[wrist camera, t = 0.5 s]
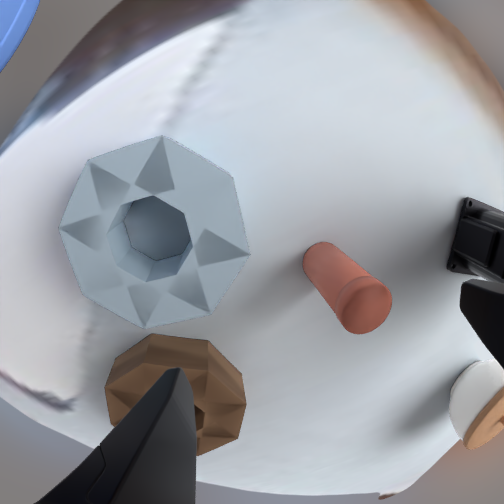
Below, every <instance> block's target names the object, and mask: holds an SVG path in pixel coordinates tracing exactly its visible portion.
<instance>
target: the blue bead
mask: <svg viewBox="0 0 504 504" xmlns="http://www.w3.org/2000/svg"><path fill="white" fill-rule="evenodd" d="M152 195H154V196H156V197H157V198H159V199H161V200H162V201H164V202H166V203H168V204H169V205H171V206H173V207H174V208H176V209H178V210H180V211H181V212H183V213H184V215H185V219H186V222H187V226H188V230H189V234H190V237H191V240H190V242H189V244H188V245H187V247H186V249H185V250H184V252H183V254H182V255H178V256H174V257H170V258H166V259H162V260H158V261H155V260H153V259H151V258H150V257H148V256H146V255H144V254H142V253H141V252H139V251H137V250H136V249H134V248H132V247H131V243H130V240H129V237H128V234H127V231H126V227H125V224H124V221H123V220H124V218H125V216H126V215H127V213H128V211H129V209H130V207H131V205H132V203H133V201H135V200H138V199H142V198H145V197H149V196H152ZM59 231H60V235H61V238H62V241H63V244H64V247H65V249H66V252H67V255H68V258H69V261H70V263H71V266H72V269H73V271H74V274H75V277H76V279H77V282H78V284H79V287H80V289H81V292H82V294H83V295H84V296H85V297H87V298H89V299H90V300H92V301H94V302H95V303H97V304H99V305H101V306H102V307H104V308H106V309H107V310H109V311H111V312H113V313H115V314H116V315H118V316H120V317H122V318H124V319H126V320H127V321H129V322H131V323H133V324H135V325H137V326H139V327H141V328H143V329H147V328H152V327H157V326H162V325H166V324H171V323H176V322H180V321H185V320H190V319H194V318H199V317H203V316H207V315H211V314H212V312H213V311H214V309H215V308H216V306H217V305H218V303H219V302H220V300H221V299H222V297H223V296H224V294H225V293H226V291H227V290H228V288H229V287H230V285H231V284H232V282H233V281H234V279H235V278H236V276H237V274H238V273H239V271H240V270H241V268H242V267H243V265H244V264H245V262H246V261H247V259H248V258H249V256H250V255H251V254H250V250H249V245H248V241H247V237H246V232H245V228H244V223H243V219H242V215H241V210H240V206H239V201H238V197H237V192H236V188H235V184H234V179H233V177H232V176H231V174H230V173H228V172H227V171H225V170H223V169H222V168H220V167H218V166H217V165H215V164H213V163H212V162H210V161H208V160H207V159H205V158H203V157H202V156H200V155H198V154H197V153H195V152H193V151H192V150H190V149H188V148H186V147H185V146H183V145H181V144H180V143H178V142H176V141H174V140H173V139H171V138H168V137H165V136H163V135H162V136H158V137H155V138H152V139H148V140H145V141H142V142H138V143H135V144H132V145H129V146H126V147H123V148H120V149H117V150H114V151H111V152H108V153H106V154H103V155H100V156H97V157H95V158H92V159H89V160H88V161H87V163H86V165H85V167H84V169H83V171H82V173H81V175H80V178H79V180H78V182H77V184H76V186H75V189H74V191H73V193H72V195H71V198H70V200H69V202H68V205H67V207H66V210H65V212H64V215H63V217H62V220H61V222H60V225H59Z"/></svg>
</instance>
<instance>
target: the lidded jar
mask: <svg viewBox="0 0 504 504" xmlns="http://www.w3.org/2000/svg"><path fill="white" fill-rule="evenodd" d="M450 397H451V399H450V404H449V415H450V419H451V422H452V425H453V427H454V429H455V431H456V433H457V434H458V436H459V437H460V438H461V440H462V441H463V444H464V446H465V447H466V448H467V449H469V450H473V449H476V448H478V447H480V446H482V445H484V444H485V443H487V442H488V441H489V440H491V439H492V438H493V437H494V436H496V435H497V434H498V433H499V432H500V431H501V430H502V429H503V428H504V369H503V368H502V367H501V365H500V364H499V363H498V362H497V360H496V359H491V360H486V361H477V362H475V363H473V364H471V365H470V366H469V367H468V368H466V369H465V370H464V371H463V372H462V373H461V375H460V376H459V377H458V378H457V380H456V381H455V383H454V384H453V386H452V389H451V392H450Z"/></svg>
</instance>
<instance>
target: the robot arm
mask: <svg viewBox="0 0 504 504" xmlns="http://www.w3.org/2000/svg"><path fill="white" fill-rule="evenodd" d="M468 204H469V205H468ZM452 265H453V266H452ZM447 269H448V270H449V271H451V272H455V273H462V274H469V275H476V276H481V277H482V278H484V279H486V280H487V281H484V280H478V279H470V280H468V281H465V282H463V284H462V286H461V295H460V309H461V311H462V313H463V314H464V316H465V317H466V319H467V320H468V322H469V323H470V325H471V326H472V328H473V329H474V330H475V332H476V333H477V335H478V337H479V338H480V339H481V341H482V342H483V344H484V345H485V346H486V348H487V349H488V350H489V351H490V353H491V354H492V355H493V356H494V358H495V359H496V360H497V362H498V363H499V364H500V365H501V367H502V368H503V369H504V212H503V211H500V210H498V209H496V208H494V207H491V206H489V205H487V204H484V203H482V202H480V201H477V200H475V199H472V198H469V197H466V198H465V200H464V203H463V207H462V212H461V216H460V220H459V224H458V228H457V232H456V236H455V240H454V243H453V247H452V250H451V254H450V257H449V260H448V264H447ZM196 451H197V434H196V422H195V410H194V397H193V391H192V387H191V385H190V383H189V381H188V379H187V377H186V375H185V373H184V371H183V369H182V368H181V367H176V368H170V369H167V370H166V371H165V372H164V373H163V374H162V375H161V377H160V378H159V379H158V380H157V381H156V382H155V383H154V384H153V386H152V387H151V388H150V389H149V390H148V391H147V392H146V393H145V394H144V396H143V397H142V398H141V399H140V400H139V401H138V402H137V403H136V404H135V406H134V407H133V408H132V409H131V410H130V411H129V412H128V413H127V414H126V415H125V417H124V418H123V419H122V420H121V421H120V422H119V423H118V424H117V425H116V426H115V428H114V429H113V430H112V431H111V432H110V433H109V434H108V435H107V436H106V437H105V438H104V440H103V441H102V442H101V443H100V446H97V447H96V448H95V449H94V451H92V453H91V454H90V455H89V456H88V457H87V458H86V459H85V460H84V461H83V462H82V463H81V464H80V465H79V466H78V467H77V468H76V469H75V470H73V471H72V472H71V473H70V474H69V475H68V476H67V477H66V478H65V479H63V480H62V481H61V482H60V483H59V484H58V485H57V486H55V487H54V488H53V489H52V490H51V491H50V492H48V493H47V494H46V495H45V496H44V497H42V498H41V499H40V500H39V501H37V502H36V503H34V504H195V490H196V486H195V485H196Z"/></svg>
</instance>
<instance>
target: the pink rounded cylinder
mask: <svg viewBox="0 0 504 504" xmlns="http://www.w3.org/2000/svg"><path fill="white" fill-rule="evenodd" d="M303 270H304V272H305V274H306V275H307V276H308V278H309V279H310V280H311V282H312V283H313V284H314V286H315V287H316V288H317V290H318V291H319V292H320V294H321V295H322V296H323V298H324V299H325V300H326V302H327V303H328V304H329V306H330V307H331V308H332V310H333V311H334V312H335V314H336V316H337V318H338V320H339V321H340V322H341V324H342V325H343V326H344V328H345V329H346V330H347V331H349V332H351V333H354V334H365V333H368V332H371V331H373V330H374V329H376V328H377V327H379V326H380V325H381V324H382V323H383V322H384V320H385V319H386V318H387V316H388V314H389V312H390V309H391V305H392V297H391V293H390V291H389V289H388V288H387V287H386V286H385V285H384V284H382V283H381V282H380V281H379V280H378V279H376V278H374V277H372V276H371V275H370V274H369V273H368V272H366V271H365V270H364V269H363V268H362V267H360V266H359V265H358V264H357V263H355V262H354V261H353V260H352V259H351V258H349V257H348V256H347V255H346V254H344V253H343V252H342V251H341V250H339V249H338V248H337V247H336V246H334V245H333V244H331V243H328V242H320V243H317V244H315V245H313V246H311V247H310V248H309V249H308V250H307V252H306V253H305V255H304V258H303Z"/></svg>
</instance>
